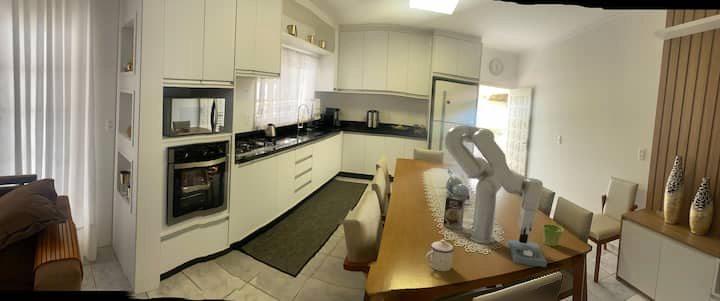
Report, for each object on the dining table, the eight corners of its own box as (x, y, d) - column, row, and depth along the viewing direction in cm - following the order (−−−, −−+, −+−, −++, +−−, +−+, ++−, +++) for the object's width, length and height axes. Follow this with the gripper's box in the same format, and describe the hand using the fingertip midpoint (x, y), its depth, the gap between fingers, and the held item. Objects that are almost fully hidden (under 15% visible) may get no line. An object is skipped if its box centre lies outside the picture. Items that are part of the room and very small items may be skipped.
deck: (507, 244, 184) (508, 239, 184) (536, 248, 181) (536, 243, 181) (513, 262, 165) (514, 256, 165) (546, 267, 162) (546, 261, 162)
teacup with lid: (443, 260, 163) (445, 234, 161) (456, 270, 155) (459, 243, 153) (419, 264, 159) (421, 237, 156) (431, 274, 150) (434, 247, 148)
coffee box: (442, 226, 203) (445, 197, 200) (445, 222, 208) (448, 194, 205) (459, 230, 199) (462, 200, 196) (462, 226, 204) (465, 197, 201)
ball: (521, 247, 171) (521, 257, 171) (524, 250, 167) (523, 260, 167) (532, 249, 170) (531, 258, 170) (534, 251, 166) (533, 261, 166)
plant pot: (558, 250, 181) (561, 232, 179) (537, 244, 186) (540, 227, 185) (562, 244, 188) (565, 227, 187) (542, 238, 194) (544, 222, 192)
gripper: (518, 199, 183) (512, 234, 186) (523, 209, 168) (516, 247, 172) (535, 201, 181) (528, 237, 185) (541, 212, 167) (534, 250, 170)
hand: (522, 242), depth 178 cm, fingers closed
